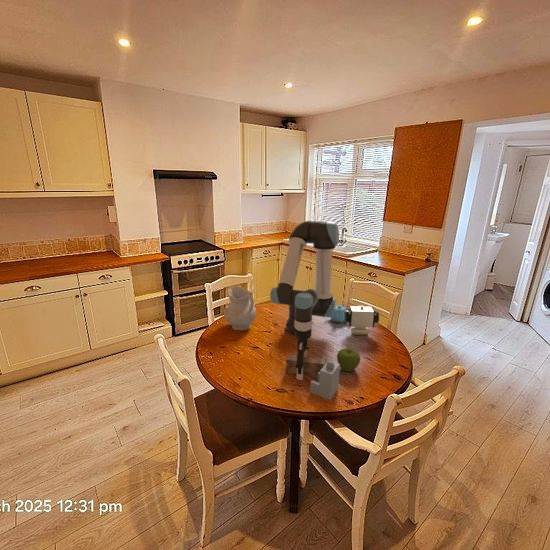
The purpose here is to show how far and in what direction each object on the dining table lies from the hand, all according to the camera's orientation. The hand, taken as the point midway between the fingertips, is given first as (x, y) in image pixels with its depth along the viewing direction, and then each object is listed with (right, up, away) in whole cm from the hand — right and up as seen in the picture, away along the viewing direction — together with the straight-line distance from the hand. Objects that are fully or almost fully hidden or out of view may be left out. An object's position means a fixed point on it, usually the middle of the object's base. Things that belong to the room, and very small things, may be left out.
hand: (301, 370), depth 137 cm
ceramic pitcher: (-32, +12, +45) cm, 57 cm away
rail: (+2, -1, 0) cm, 2 cm away
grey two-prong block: (+8, -5, -12) cm, 15 cm away
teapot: (+28, +15, +53) cm, 62 cm away
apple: (+22, -1, +3) cm, 22 cm away
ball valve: (+37, +9, +36) cm, 52 cm away
